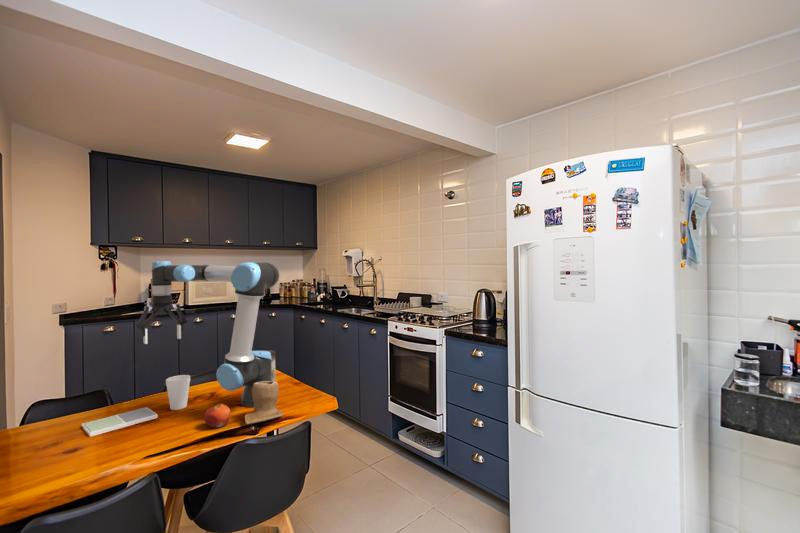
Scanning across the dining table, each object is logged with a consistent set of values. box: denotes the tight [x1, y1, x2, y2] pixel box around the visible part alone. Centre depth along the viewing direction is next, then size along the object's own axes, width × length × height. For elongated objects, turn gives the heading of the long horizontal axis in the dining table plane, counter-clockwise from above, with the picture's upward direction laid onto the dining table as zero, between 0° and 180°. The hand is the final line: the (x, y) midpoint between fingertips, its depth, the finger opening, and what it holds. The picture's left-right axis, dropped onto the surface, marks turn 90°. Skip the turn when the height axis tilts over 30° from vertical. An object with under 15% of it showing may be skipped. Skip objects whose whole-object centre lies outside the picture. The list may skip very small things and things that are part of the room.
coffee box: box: [267, 349, 276, 381], centre depth 202 cm, size 9×6×16 cm
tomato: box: [204, 403, 231, 428], centre depth 146 cm, size 9×9×8 cm
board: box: [81, 406, 159, 437], centre depth 151 cm, size 14×22×2 cm, turn 140°
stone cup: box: [244, 380, 284, 426], centre depth 151 cm, size 15×12×15 cm
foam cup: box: [165, 374, 191, 411], centre depth 166 cm, size 10×9×13 cm
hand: (162, 341), depth 170 cm, fingers open, 13 cm apart
